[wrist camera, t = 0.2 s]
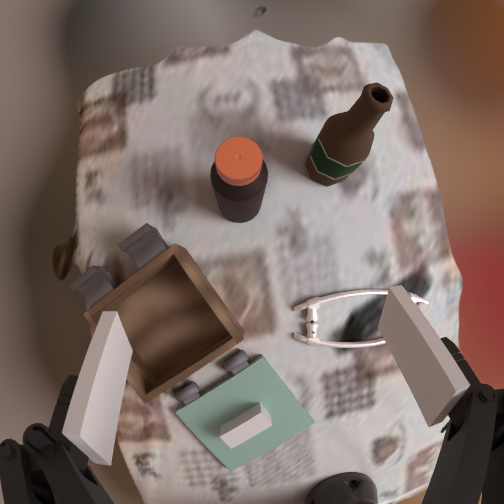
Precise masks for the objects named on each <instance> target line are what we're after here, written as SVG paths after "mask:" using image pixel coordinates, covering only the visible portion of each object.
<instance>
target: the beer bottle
mask: <svg viewBox="0 0 504 504" xmlns="http://www.w3.org/2000/svg"><path fill="white" fill-rule="evenodd" d="M392 101H393V96H392V95H391V93H390V91H389V90H388V88H386V87H384V86H383V85H381V84H379V83H373V84H368V85H366V86H364V88H363V91H362V94H361V96H360V97H359V99H358V100H357V101H356V102H355V104H354V105H353V106H352V107H351V109H350V110H349V111H347V112H343V113H339V114H335V115H333V116H331V117H329V118H328V119H327V121H326V122H325V124H324V126H323V128H322V130H321V131H320V133H319V135H318V137H317V139H316V141H315V143H314V144H313V146H312V149H311V151H310V154H309V156H308V158H307V161H306V163H305V165H306V167H307V169H308V171H309V174H310V176H311V178H312V179H313V180H315V181H317V182H319V183H321V184H323V185H325V186H330V185H333V184H336V183H339V182H342V181H343V180H345V179H346V178H347V177H348V176H349V175H350V174H351V173H352V172H353V171H354V170H355V169H356V168H357V167H358V166H359V165H360V164H362V163H363V162H364V161H365V159H366V158H367V157H368V155H369V152H370V149H371V146H372V143H373V140H374V132H373V128H374V127H375V126H376V124H377V123H378V121H379V120H380V118H381V117H382V116H383V114H384V113H385V112H387V111H390V108H391V104H392Z"/></svg>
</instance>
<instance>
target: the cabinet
mask: <svg viewBox="0 0 504 504" xmlns="http://www.w3.org/2000/svg"><path fill="white" fill-rule="evenodd" d="M119 247H120V249H121V250H122V251H125V252H128V253H129V255H130V256H131V258H132V259H133V261H134V263H135V264H136V266H137V267H138V269H139V271H138V272H136V273H135V274H134V275H132V276H131V277H130V278H128V279H127V280H126V281H125V282H123V283H122V284H121V285H119V286H118V285H117V283H116V281H115V280H114V278H113V276H112V275H111V273H110V271H109V270H108V268H107V267H100V266H92V267H90V268H89V269H88V270H87V271H86V272H85V273H83V274H82V275H81V276H80V277H79V278H78V279H76V280H75V281H74V282H73V283H72V284H71V285H70V288H71V289H72V291H81V293H82V295H83V296H84V298H85V300H86V301H87V303H88V305H89V307H90V309H89V310H88V311H87V312H85V313H84V316H85V318H86V320H87V321H88V323H89V325H90V326H91V328H92V330H93V331H94V332H95V330H96V327H97V325H98V322H99V320H100V317H101V315H102V312H103V311H117V313H118V315H119V318H120V321H121V323H122V326H123V328H124V331H125V333H126V336H127V338H128V341H129V343H130V345H131V348H132V350H133V352H132V356H131V361H130V365H129V369H128V374H127V378H126V379H127V381H128V382H129V383H130V385H131V386H132V387H133V389H134V390H135V391H136V393H137V394H138V395H139V396H140V398H141V399H142V400H143V401H144V403H146V402H147V401H149V400H151V399H152V398H154V397H156V396H157V395H159V394H161V393H162V392H164V391H166V390H167V389H169V388H170V387H172V386H174V385H175V384H177V383H178V382H180V381H182V380H183V379H185V378H186V377H188V376H190V375H191V374H193V373H194V372H196V371H197V370H199V369H200V368H202V367H203V366H205V365H207V364H208V363H210V362H211V361H213V360H214V359H216V358H217V357H219V356H220V355H222V354H223V353H225V352H226V351H228V350H229V349H231V348H232V347H234V346H235V345H236V344H238V343H239V342H241V341H242V340H243V328H242V327H241V326H240V324H239V323H238V322H237V320H236V319H235V318H234V316H233V315H232V314H231V312H230V311H229V309H228V308H227V307H226V305H225V304H224V302H223V301H222V300H221V298H220V297H219V295H218V294H217V293H216V291H215V290H214V288H213V287H212V286H211V284H210V283H209V281H208V280H207V279H206V277H205V276H204V274H203V273H202V271H201V270H200V269H199V267H198V266H197V264H196V263H195V261H194V260H193V258H192V257H191V255H190V254H189V253H188V251H187V250H186V248H183V247H181V246H179V245H177V244H174V245H173V246H171V247H170V248H169V247H168V246H167V244H166V243H165V241H164V240H163V238H162V236H161V235H160V233H159V232H158V230H157V229H156V228H154V227H153V226H151V225H149V224H147V223H146V224H145V225H143V226H142V227H141V228H139V229H138V230H137V231H135V232H134V233H133V234H132V235H130V236H129V237H128V238H126V239H125V240H124V241H123V242H121V243H120V244H119Z"/></svg>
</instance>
